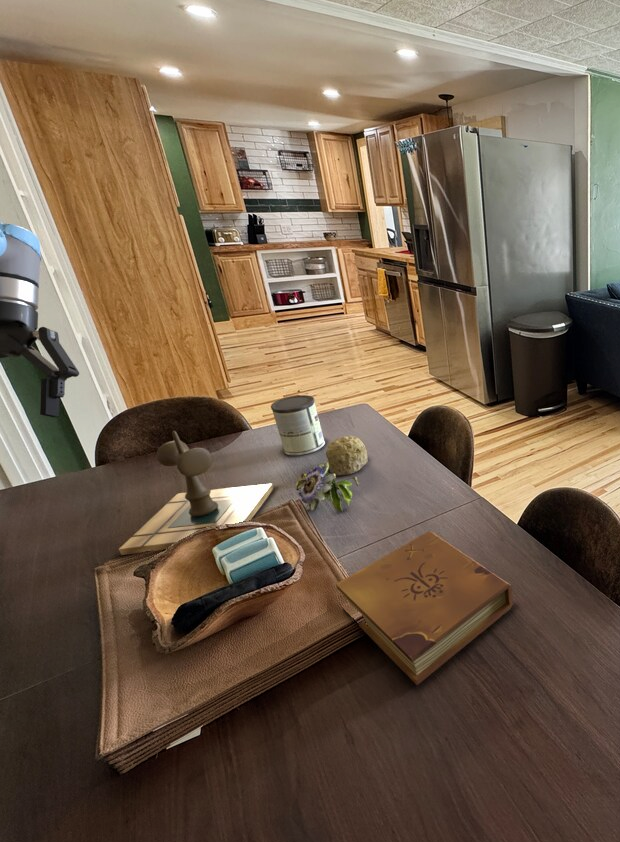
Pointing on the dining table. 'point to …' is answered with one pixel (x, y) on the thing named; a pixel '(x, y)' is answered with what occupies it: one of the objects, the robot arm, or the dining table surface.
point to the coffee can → (298, 424)
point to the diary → (426, 602)
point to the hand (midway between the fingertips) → (0, 421)
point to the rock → (346, 455)
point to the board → (180, 524)
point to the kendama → (190, 472)
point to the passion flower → (323, 488)
